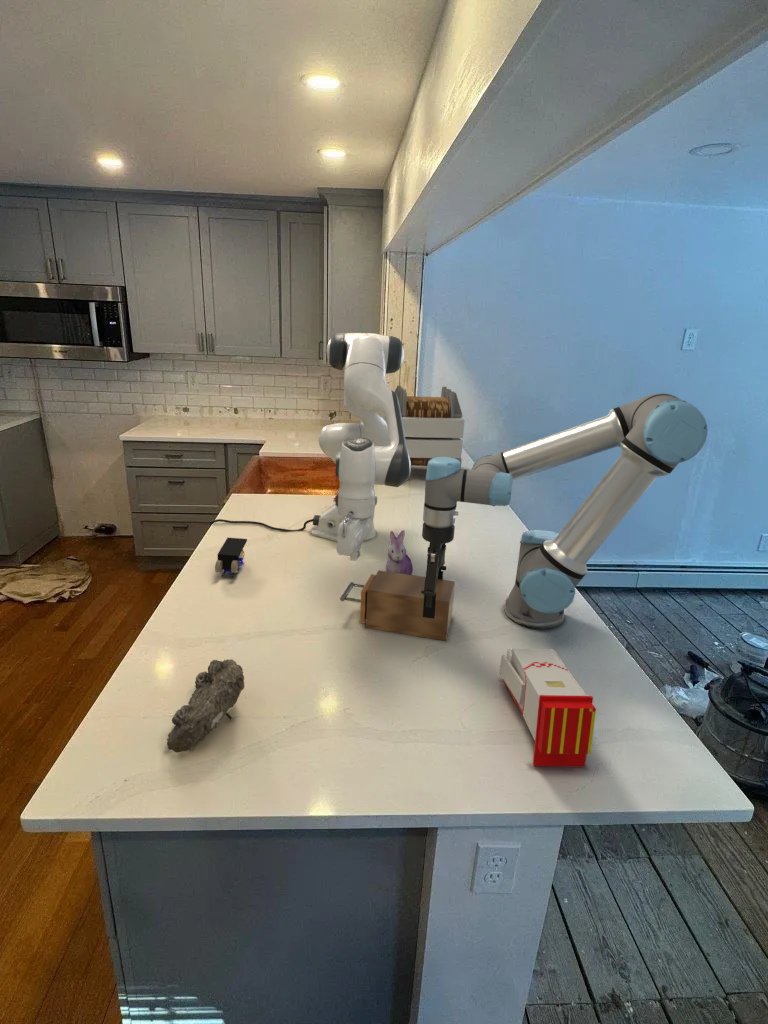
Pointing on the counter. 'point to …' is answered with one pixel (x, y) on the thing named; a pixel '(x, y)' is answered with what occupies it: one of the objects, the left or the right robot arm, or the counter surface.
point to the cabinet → (408, 605)
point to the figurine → (398, 555)
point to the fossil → (206, 705)
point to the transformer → (431, 426)
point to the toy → (550, 706)
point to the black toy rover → (230, 556)
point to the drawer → (363, 596)
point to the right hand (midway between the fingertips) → (432, 605)
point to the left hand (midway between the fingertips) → (355, 558)
